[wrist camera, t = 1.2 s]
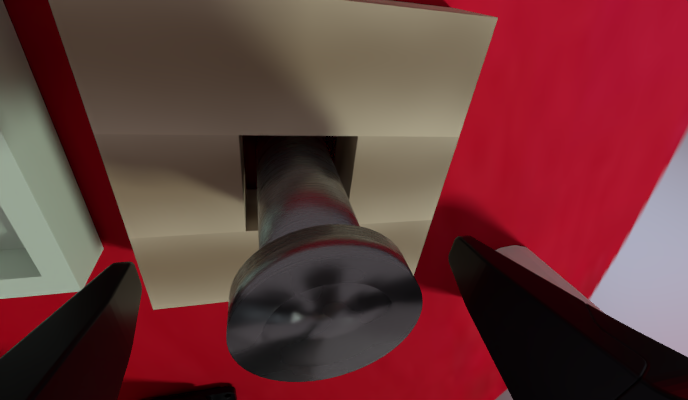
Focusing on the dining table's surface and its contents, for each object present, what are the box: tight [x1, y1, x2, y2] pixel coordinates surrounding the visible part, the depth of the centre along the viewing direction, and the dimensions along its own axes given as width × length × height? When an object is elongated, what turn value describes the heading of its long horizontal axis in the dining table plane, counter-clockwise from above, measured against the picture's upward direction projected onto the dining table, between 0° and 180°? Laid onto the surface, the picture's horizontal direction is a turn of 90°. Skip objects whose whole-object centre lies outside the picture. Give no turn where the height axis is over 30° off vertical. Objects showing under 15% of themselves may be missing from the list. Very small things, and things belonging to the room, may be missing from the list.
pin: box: [227, 135, 422, 382], centre depth 11 cm, size 4×4×9 cm
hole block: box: [48, 0, 498, 310], centre depth 13 cm, size 12×12×3 cm
